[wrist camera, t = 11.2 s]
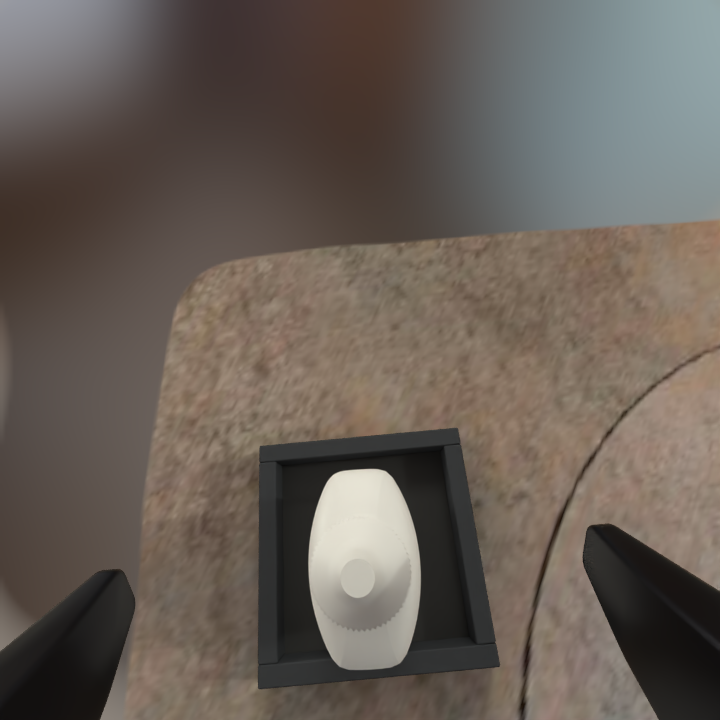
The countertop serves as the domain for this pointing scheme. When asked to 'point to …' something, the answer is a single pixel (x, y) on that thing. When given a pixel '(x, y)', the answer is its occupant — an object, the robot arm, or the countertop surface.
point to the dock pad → (435, 542)
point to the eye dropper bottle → (364, 570)
